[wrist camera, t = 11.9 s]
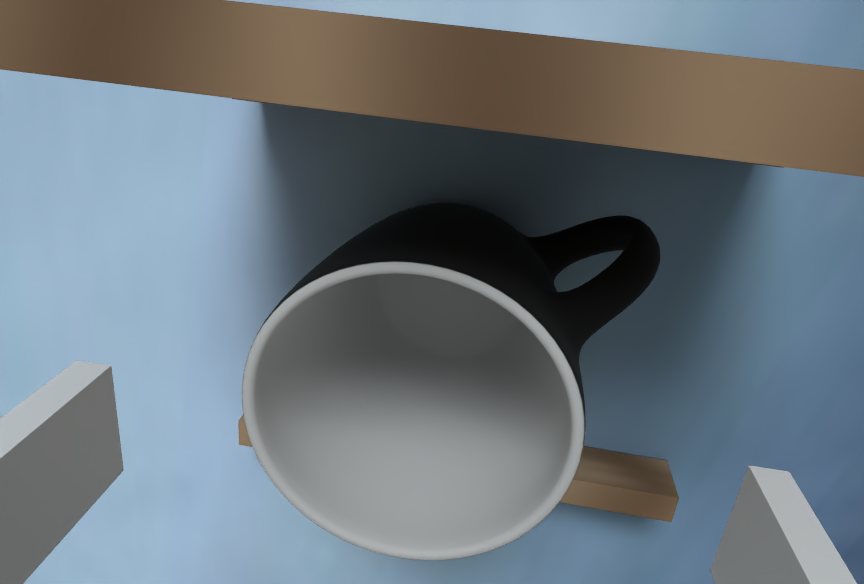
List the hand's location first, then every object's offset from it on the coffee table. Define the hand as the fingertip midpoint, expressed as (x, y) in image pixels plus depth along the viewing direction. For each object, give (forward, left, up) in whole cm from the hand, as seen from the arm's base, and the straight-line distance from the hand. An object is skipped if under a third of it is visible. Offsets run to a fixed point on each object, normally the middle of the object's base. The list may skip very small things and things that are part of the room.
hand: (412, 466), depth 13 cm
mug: (+1, 0, -13) cm, 13 cm away
